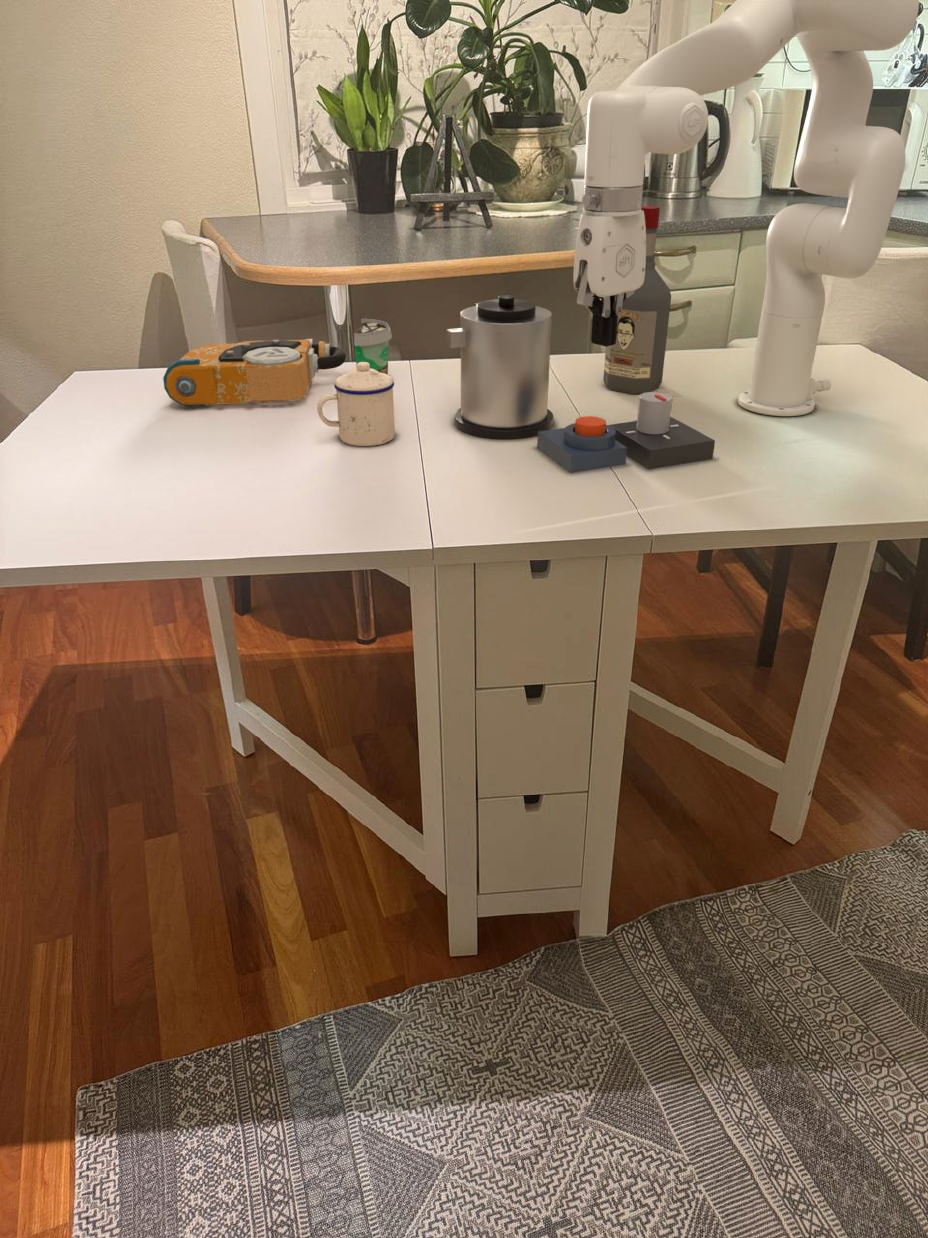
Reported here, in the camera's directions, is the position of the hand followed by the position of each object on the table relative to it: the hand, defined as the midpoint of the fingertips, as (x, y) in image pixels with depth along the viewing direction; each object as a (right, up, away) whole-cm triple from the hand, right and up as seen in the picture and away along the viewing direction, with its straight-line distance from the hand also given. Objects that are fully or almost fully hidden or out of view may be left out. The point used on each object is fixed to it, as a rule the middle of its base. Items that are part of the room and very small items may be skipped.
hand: (603, 343), depth 127 cm
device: (-56, +3, +37) cm, 67 cm away
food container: (-36, +6, +42) cm, 56 cm away
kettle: (-14, -6, +23) cm, 27 cm away
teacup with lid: (-36, -10, +15) cm, 41 cm away
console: (+10, -13, +10) cm, 19 cm away
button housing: (-2, -14, +8) cm, 17 cm away
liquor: (+11, +4, +39) cm, 41 cm away
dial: (+9, -10, +10) cm, 16 cm away
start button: (-1, -11, +5) cm, 13 cm away
